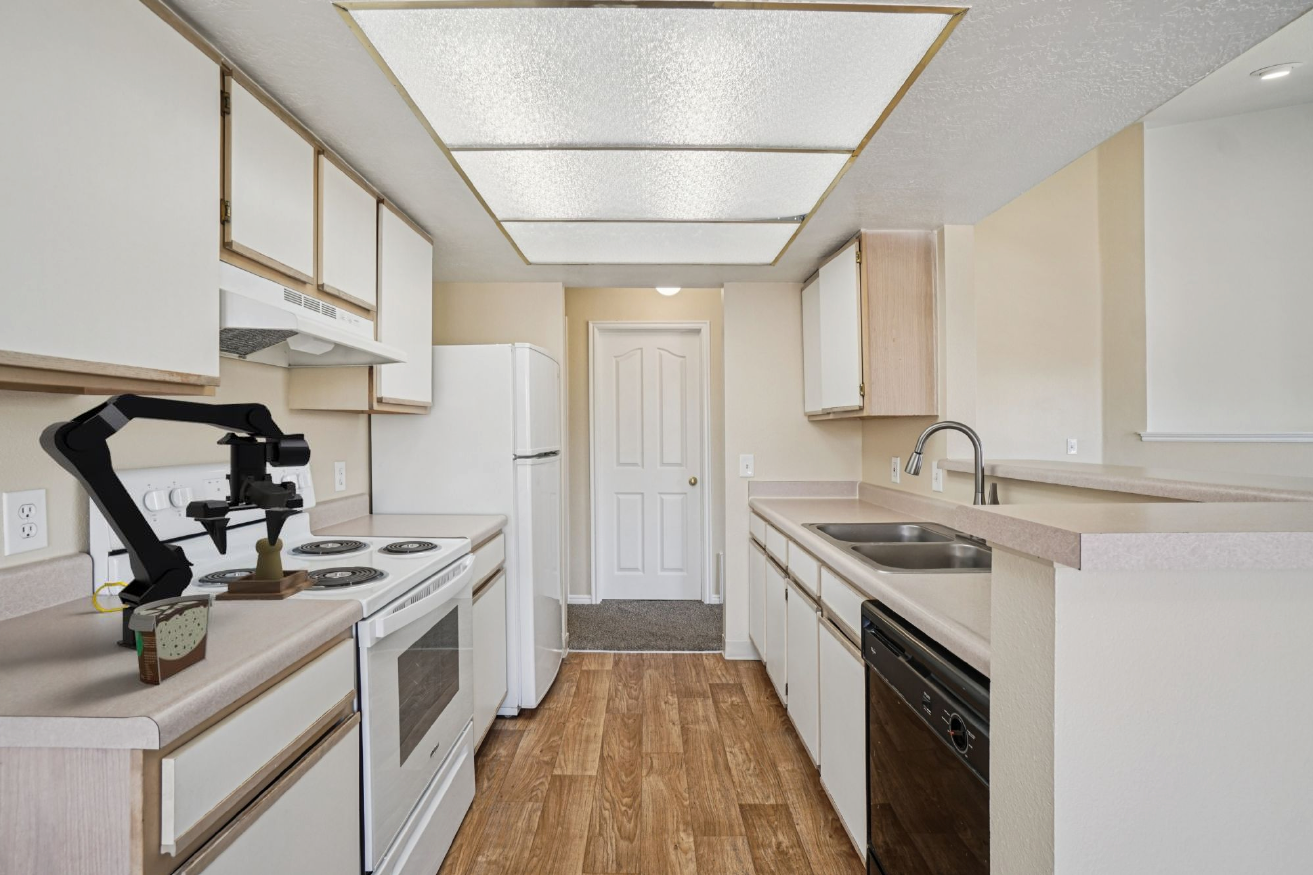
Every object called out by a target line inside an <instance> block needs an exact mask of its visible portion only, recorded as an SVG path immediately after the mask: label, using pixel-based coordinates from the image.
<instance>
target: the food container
mask: <svg viewBox="0 0 1313 875" xmlns="http://www.w3.org/2000/svg"><path fill="white" fill-rule="evenodd" d="M213 606H214V605H213V598H212V597H211V593H203V594H201V593H200V594H191V595H183V596H182V595H181V597H174V598H169V599H164V600H159V601H155V602H151V603H148V604H145V605H142V606H140V607H138V608H136V609H135V610H134V613H133V614H132V615H131V618H130V622H129V626H128V627H129V628H130V629H132V630H135V636H136V645H137V649H136V652H137V663H138V672H139V681H140V683H142V684H144V685H148V686H149V685H150V686H160V685H162V684H164V683H166V682H168V681H169V680H171V679H173V678H176V677H177V676H179V675H180V674H183V673H185V672H186V671H188V670H190V669H192V668H194V667H195V666H197V665H199V664H201V663H203V662H205V661H207V651H208V638H209V637H208V636H209V624H210V623H209V622H210V610H211V607H213ZM204 660H205V661H204Z"/></svg>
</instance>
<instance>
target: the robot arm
mask: <svg viewBox="0 0 1313 875" xmlns="http://www.w3.org/2000/svg"><path fill="white" fill-rule="evenodd" d="M134 419H143V420H155V421H164V422H175V423H188V424H200V425H207V426H211V427H215V428H218V429H220V430H224V431H229V432H226V434H225V435H224V436H223V437H221V438H219V440H217V441H216V444H217V445H218V446H220V445H221V446H223V445H224V446H230V447H229V448H230V449H229V450H230V453H229V454H230V455H229V456H230V458H229V459H230V461H229V462H230V463H229V466H230V467H229V468H230V472H229V473H226V474H225V480H226V481H227V480H229V481H230V483H229V487H230V488H229V489H230V490H229V492H230V493H229V495H225V500H218V499H207V500H206V499H203V500H193V501H189V503H188V505H187V506H186V508H185V517H186V518H193V521H194V522H200V524H201V526H203V528H204V529H205V531H206V532H207V533H208V535H209V536H210V538H211V541H212V542H213V544H214V545H215V548H216V550H217V551H218V552H219V554H220V555H222V556H225V555H226V554H227V550H228V548H227V547H228V541H227V540H228V539H227V537H228V535H227V532H228V530H227V526H228V524H229V522H230V521H231V517H226V515H228V514H229V513H231V512H239V511H249V510H257V509H258V510H260V509H261V510H264V513H265V514H264V515H265V523H266V524H265V525H266V532H267V533H266V534H267V538H268V541H269V545H270V546H275V544H276V542H277V539H278V538H280V537H279V536H280V533H281V532H282V529H283V527H284V525H285V523H286V521H287V520H288V518H289V517H290V516H292V514H295V513H297V512H298V509H301V508H302V509H303V508H304V498H303V496H302V495H301V494H300V493H297V486H296V483H295V482H293V480H292V481H291V480H289V481H282V482H281V483H274V482H273V476H272V473H268V472H267V463H268V464H269V466H270V467H272V468H291V467H292V468H294V467H305V466H307V465H308V463H309V462H310V459H311V453H312V452H311V451H312V450H311V449H310V446H309V443H308V442H307V440H306V439H305V434H304V433H291V434H288V433H287V434H285V433H284V432H283V431H282V429H281V428H280V427H279V426H278V424H277V423H276V422H275V421H274V420H273V418H272V413H271V411H270V409H269V408H268V407H267V406H266V405H265V404H263V403H259V402H246V403H243V402H242V403H241V402H239V403H222V404H219V403H218V404H214V403H205V402H198V401H197V402H195V401H189V400H188V401H187V400H177V399H171V398H170V399H168V398H160V397H151V396H143V395H138V394H135V393H120V394H118V393H117V394H115V395H112V396H110V397H109V398H108V399H106V400H105V401H103V402H102V403H99V404H98V405H96V406H94V407H93V408H90V409H89V410H86V411H85V412H82V413H80V414H79V415H77V416H75V417H73V418H71V419H70V420H68V421H66V420H65V421H59V422H53V423H52V424H50V425H48V426H46V428H44V429H43V430H42V431H41V434H40V436H39V441H38V442H39V445H40V447H41V449H42V450H43V451H44V452H45V453H46V454H48V456H50V458H51V459H53V461H54V462H56V463H57V465H59V466H60V467H61V468H62V469H64V470H65V471H66V472H67V473H69V474H70V475H72V476H73V477H74V478H75V479H77V481H79V483H80V484H81V486H82V487H83V489H84V490H85V492H86V493H87V495H88V496H89V497H90V499H91V501H92V502H93V503H94V505H95V506H96V507H97V508H98V510H99V512H100V513H101V515H102V516H103V519H105V520H106V522H107V523H108V525H109V526H110V528H111V529H112V530H113V532H114V534H115V535H116V537H117V538H118V539H119V541H120V542H121V544H122V545H123V546H124V549H126V551H127V553H128V559H129V566H130V570H131V572H132V575H133V577H134V578H133V579H132V580H131V581H130V582H128V583H127V584H128V585H127V586H126V587H123V589H122V590H120V591H119V592H118V594H117V596H118V599H119V600H120V601H121V604H122V605H124V606H125V605H129V606H127V607H126V608H123V610H122V631H121V632H122V636H121V638H122V639H120V640H117V641H116V645H118V646H122V647H126V648H129V649H134V650H137V645H136V636H135V630H132V629H130V628H129V627H128V626H129V622H130V618H131V615H132V614H133V613H134V610H135V609H136V608H138V607H140V606H142V605H145V604H148V603H151V602H155V601H159V600H164V599H169V598H174V597H181V596H182V595H183V592H184V591H185V590H186V589H188V586H189V585H190V584H191V582H192V579H193V577H194V573H193V570H192V568H191V567H194V565H195V564H194V563H192V562H191V561H189V559H188V558H187V557H186V554H185V551H184V549H183V547H182V546H181V545H176V544H170V543H163V542H162V541H161V540H160V539H159V537H158V536H157V534H156V533H155V531H154V529H153V528H152V527H151V525H150V524H149V522H148V520H147V519H146V517H145V516H144V514H143V513H142V512H141V510H140V508H139V507H138V506H137V503H136V502H135V501H134V500H133V497H132V496H131V494H130V493H129V491H128V490H127V488H126V486H124V484H123V483H122V481H121V480H120V478H119V476H118V475H117V474H116V472H115V470H114V468H113V461H112V455H111V454H112V453H111V450H110V447H109V445H108V442H107V439H109V438H110V437H112V436H113V435H115V434H116V433H118V432H119V431H120V430H121V429H123V427H125V426H126V425H127V424H128V423H129V422H130V421H132V420H134ZM236 433H237V434H236ZM238 434H246V435H247V436H246V435H244V436H243V435H242V436H239V435H238ZM258 439H265V441H258Z"/></svg>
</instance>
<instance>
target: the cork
mask: <svg viewBox="0 0 1313 875" xmlns="http://www.w3.org/2000/svg"><path fill="white" fill-rule="evenodd" d="M283 547H284V544H283V540H282V539H281V538H280V537H278V539H277V542H276V544H275V546H270V545H269V541H268V537H264V538H260V539H257V541H256V543H255V551H256V553H258V554H257V560H256V569H255V571H254V572H255V579H254V580H280V579H282V578H284V576H283V570H284V569H283V563H282V557H281V551H282V550H283Z"/></svg>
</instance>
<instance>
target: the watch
mask: <svg viewBox="0 0 1313 875" xmlns="http://www.w3.org/2000/svg"><path fill="white" fill-rule="evenodd" d="M128 584H129V583H126V582H124V580H122V579H114V580H107V581H105V582H104V584H103V585H101V586H100V587H99V588H97V589H96V591H95V592H94V593H93V595H92V601H91V602H92V605H93V606H94V608H95V609H96V610H97V611H99V612H101V613H109V612H118V610H120V611H123V608H127V607H129V605H124V606H122V607H114V608H108V609H106V608H104V607H103V606H102V607H101V606H100V605H99V603H98V601H97V598H98V594H99V592H100V591H101V590H102V589H104V588H106V587H117V586H121V587H123V588H125V587H126V586H127V585H128Z"/></svg>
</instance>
